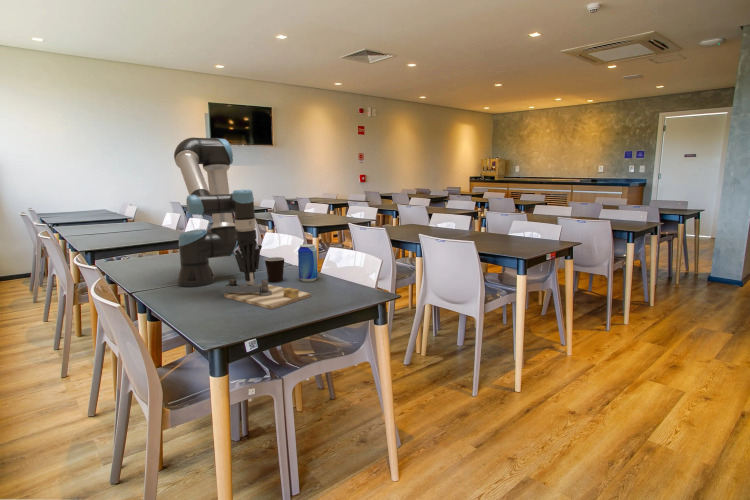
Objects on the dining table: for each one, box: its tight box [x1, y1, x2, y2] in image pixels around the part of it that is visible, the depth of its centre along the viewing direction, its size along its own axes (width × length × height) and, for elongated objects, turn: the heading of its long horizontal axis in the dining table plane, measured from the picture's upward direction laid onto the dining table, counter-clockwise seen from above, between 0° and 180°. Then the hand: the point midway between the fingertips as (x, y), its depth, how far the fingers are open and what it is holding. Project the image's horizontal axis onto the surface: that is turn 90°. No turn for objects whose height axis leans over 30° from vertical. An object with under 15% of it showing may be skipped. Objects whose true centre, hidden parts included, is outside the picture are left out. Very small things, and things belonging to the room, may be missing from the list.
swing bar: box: [225, 278, 262, 293], centre depth 170 cm, size 14×3×4 cm, turn 84°
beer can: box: [297, 243, 319, 283], centre depth 196 cm, size 8×8×16 cm
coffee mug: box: [264, 256, 285, 283], centre depth 197 cm, size 12×9×10 cm
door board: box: [223, 278, 312, 310], centre depth 170 cm, size 28×20×7 cm
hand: (250, 288), depth 173 cm, fingers closed
